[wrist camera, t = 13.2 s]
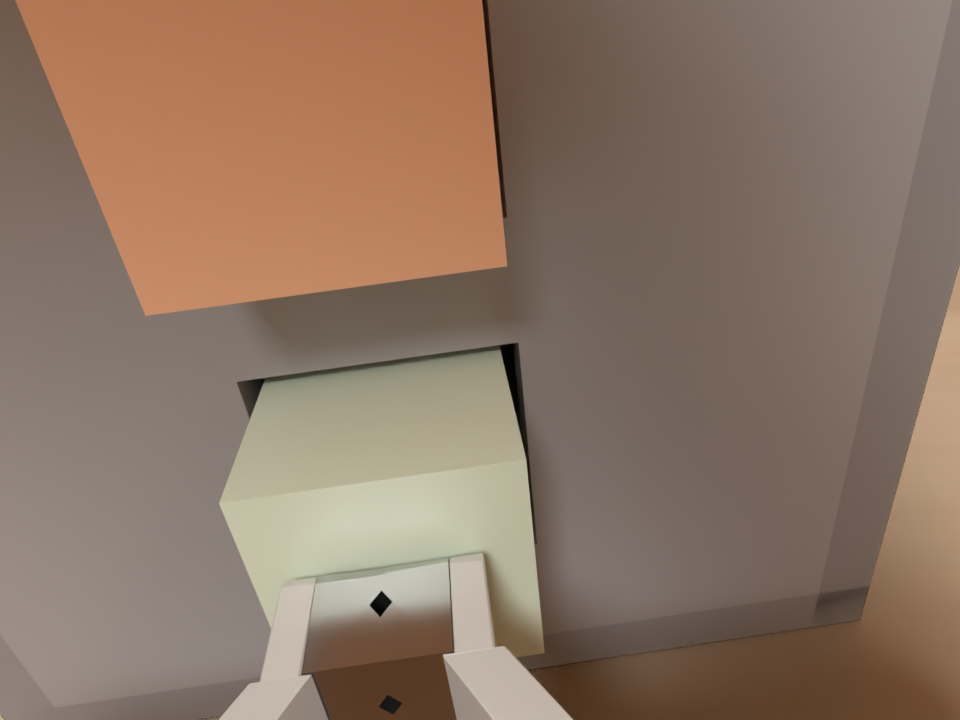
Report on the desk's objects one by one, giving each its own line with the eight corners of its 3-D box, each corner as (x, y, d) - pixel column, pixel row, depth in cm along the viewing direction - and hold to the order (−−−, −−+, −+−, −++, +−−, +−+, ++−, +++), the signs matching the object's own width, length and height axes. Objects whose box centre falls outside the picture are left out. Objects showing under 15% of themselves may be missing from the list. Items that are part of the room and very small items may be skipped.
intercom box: (860, 620, 16) (1283, -891, 6) (25, 745, 15) (-1119, -646, 5) (702, 394, 24) (759, -368, 14) (164, 470, 24) (-170, -259, 14)
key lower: (544, 653, 11) (526, 459, 9) (296, 690, 11) (219, 503, 9) (507, 464, 15) (489, 303, 13) (329, 490, 15) (282, 332, 13)
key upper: (507, 266, 8) (463, -197, 6) (145, 315, 8) (-42, -136, 5) (473, 162, 12) (441, -122, 10) (242, 193, 12) (158, -87, 10)
